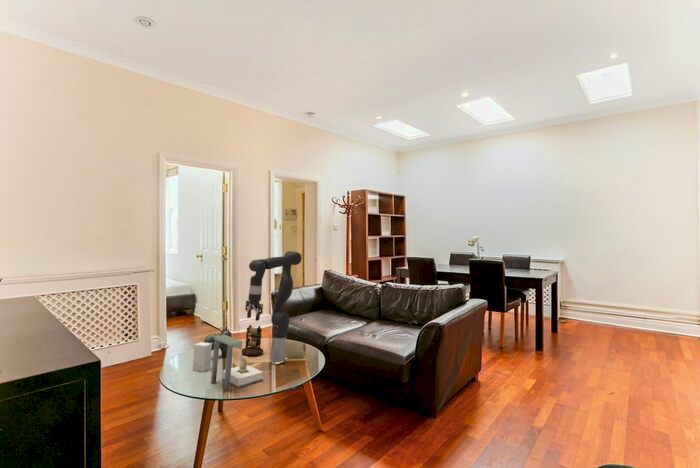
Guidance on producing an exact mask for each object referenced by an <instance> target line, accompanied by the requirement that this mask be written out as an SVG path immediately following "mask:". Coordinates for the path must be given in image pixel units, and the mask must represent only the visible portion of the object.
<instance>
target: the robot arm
mask: <svg viewBox="0 0 700 468" xmlns="http://www.w3.org/2000/svg"><path fill="white" fill-rule="evenodd" d="M301 262H302V254H301V253H299V252H298V251H291V250H290V251H289V250H288V251H286V252H285V253H284V255H283V256H273V257H268V258H263V259H254V260H251V261H250V262H249V264H248V267H249V270H250V271H252V272H255V274H254V275H252V276H251V277H250V283H249V289H248V299H247V300H246V301H245V309H244V310H245V311H246V312H247V314H246V318H247V319H251V317H252V311H254V312H255V321H256V322H257V321H260V317H261V314H263V310H264V305H263V304H264V303H260V302H261V301H262V293H263V292H262V290H263V286H262V285H263V278H264V276H265V273H266V270H272V269H276V268H280V267H282V269H281V276H280V282H279V286H278V292H277V295H276V301H275V305H274V308H273V311H272V314H271V319H270V320H271V324H272V325H273V326H276V327H277V330H275V331H273V332H272V335H271V336H272V338H271V349H270V359H269V360H270V361H271V362H273V363H276V362H281V361H283V360H284V359H285V358H287V347H286V345H287V344H286V343H287V335H288V332H289V327H290V316H289V314H288V313H284V312H283V311H284V306H285V304H286V302H287V301H288V300H289V299H290V297H291V296H292V293H293V288H294V281H293V277H292V272H291V270H292V266H296V265H299V264H301Z"/></svg>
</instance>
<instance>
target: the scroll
mask: <svg viewBox="0 0 700 468" xmlns="http://www.w3.org/2000/svg"><path fill="white" fill-rule="evenodd" d="M262 331H263V329H262V328H261V325H258V327H253V326H252V324H250V325H249V326H248V327H247V328H246V334H245V337H246V339H245V346H244V348H242V349H241V354H242V356H256V355H257V356H258V355H261V354H263V353H264V349H263V348H261V344H262V341H261V339H262V337H263V336H262ZM257 356H256V357H257Z"/></svg>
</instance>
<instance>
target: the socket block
mask: <svg viewBox="0 0 700 468" xmlns="http://www.w3.org/2000/svg"><path fill="white" fill-rule="evenodd" d="M239 367H240V365H239V366H234V367H231V375H230V385H231V386H233V387H235V388H237V389H239V387H240V388H243V387H246V385H247V386H249V384H250V385H253V384H255V383H254V382H256V383H259V382H261V380H262V381H263V375H264V374H263V373H264V372H263V371H261V370H260V369H257V368H256V367H253V366H251V365H248V364H247V370H246V373H243V374H241V373H239ZM221 372H222V373H221V380H222V381H225V369H224V370H222V371H221ZM258 381H259V382H258ZM252 383H253V384H252Z"/></svg>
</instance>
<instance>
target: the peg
mask: <svg viewBox="0 0 700 468" xmlns="http://www.w3.org/2000/svg"><path fill="white" fill-rule="evenodd" d="M239 358H240V359H239V366H240V367H239V373H241V374H243V373H246V370H247V365H248V358H249V357H248V355H242V356H240V357H239Z"/></svg>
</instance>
